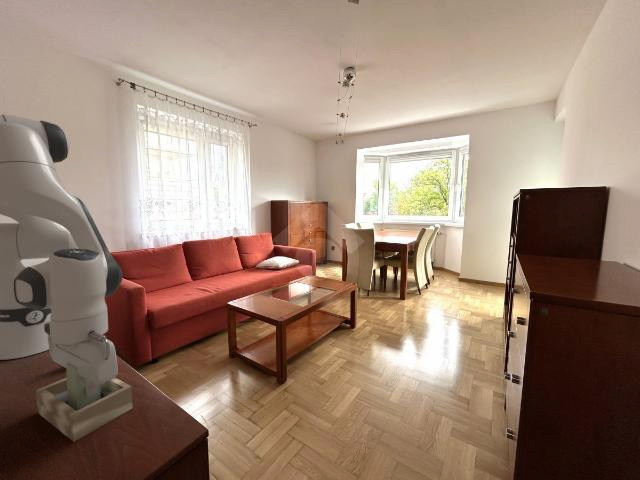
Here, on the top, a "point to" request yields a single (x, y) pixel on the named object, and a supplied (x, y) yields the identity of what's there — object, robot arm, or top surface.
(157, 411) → the top surface
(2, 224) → the robot arm
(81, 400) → the peg
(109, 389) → the box
